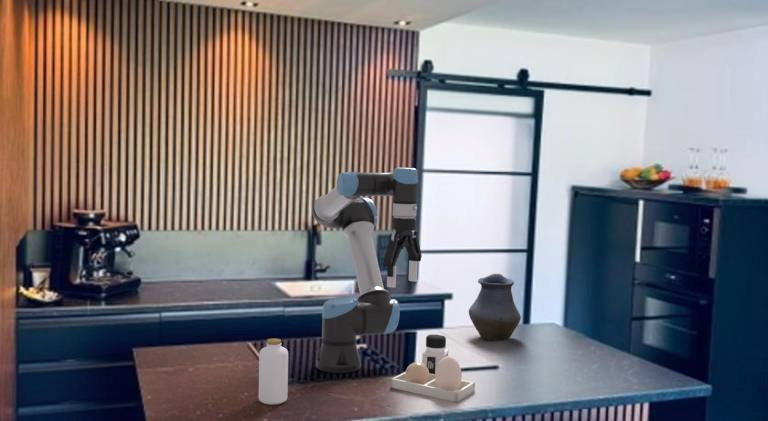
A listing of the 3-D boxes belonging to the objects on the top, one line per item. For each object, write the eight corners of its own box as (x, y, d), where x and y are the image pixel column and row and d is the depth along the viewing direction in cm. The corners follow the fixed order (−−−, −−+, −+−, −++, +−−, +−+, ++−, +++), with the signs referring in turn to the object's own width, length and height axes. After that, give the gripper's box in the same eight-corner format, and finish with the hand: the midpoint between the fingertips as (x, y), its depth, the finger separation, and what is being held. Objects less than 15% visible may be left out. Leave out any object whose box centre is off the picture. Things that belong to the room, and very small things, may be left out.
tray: (390, 389, 226) (391, 378, 226) (410, 379, 237) (410, 369, 236) (456, 404, 215) (457, 393, 214) (474, 393, 225) (474, 382, 225)
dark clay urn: (466, 342, 285) (468, 279, 283) (469, 329, 307) (471, 270, 305) (520, 346, 282) (522, 282, 280) (519, 333, 303) (521, 273, 301)
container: (444, 378, 240) (446, 339, 239) (421, 376, 241) (422, 337, 240) (447, 371, 247) (449, 333, 246) (424, 369, 249) (426, 331, 248)
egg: (463, 390, 225) (465, 354, 224) (457, 398, 217) (459, 361, 216) (438, 387, 227) (439, 351, 227) (431, 395, 220) (433, 358, 219)
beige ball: (400, 386, 227) (401, 363, 227) (412, 380, 233) (413, 357, 233) (421, 391, 223) (422, 367, 223) (433, 385, 230) (433, 361, 229)
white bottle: (259, 396, 217) (260, 336, 216) (288, 396, 218) (289, 336, 216) (257, 405, 209) (258, 343, 207) (286, 405, 210) (287, 344, 208)
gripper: (394, 220, 217) (392, 291, 219) (433, 215, 238) (431, 280, 240) (373, 218, 221) (371, 288, 223) (413, 213, 242) (411, 277, 244)
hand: (402, 284), depth 231 cm, fingers open, 13 cm apart
